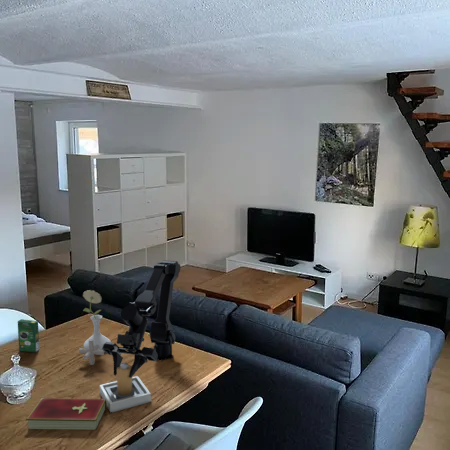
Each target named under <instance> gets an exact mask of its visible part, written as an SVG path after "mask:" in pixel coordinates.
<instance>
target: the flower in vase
mask: <svg viewBox="0 0 450 450" xmlns="http://www.w3.org/2000/svg"><path fill="white" fill-rule="evenodd" d="M82 297H83V298H84V299H85V301H86V302H89V308H87V307H85V308H84V309H83V310H82V312H87V313H92V316H90V317H89V318H90V320H91V321H92V324H93V333H92V335H91V336H90V337H89V338H87V339H86V340H85V341H84V342H83V347H82V348H84V349H89V339H93V342H94V346H95V345H97V344H98V345H99V346H100V347H99V349H98V350H103V349H102V347H103V345H104V343H106V342H111V343H112V341H111V339H109V338H108V337H106V336H105V335H103V334H102V333H101V331H100V324H101V320H102V318H103V315H100V314H99V313H100V312H101V311H102V309H98V310H96V311H95V312H93V311H92V308H91V307H92V304H99V303H102V300H103V298H102V296H101V294H100V293H98V292H96V291H95V290H92V289H89V290H88V289H87V290H85V291H84V292H83V293H82Z"/></svg>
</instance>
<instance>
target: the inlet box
mask: <svg viewBox="0 0 450 450" xmlns="http://www.w3.org/2000/svg"><path fill="white" fill-rule="evenodd" d="M132 388H133V389H134V390H135V395H133V396H129V397H125V398H121V399H116V397H115V392H116V390H117V380H114V381H111V382H107V383H103V384H99V394H100V396H101V399H106V404H107V409H108V410H109V412H110V413H111V412H112V413H115V412H119V411H122V410H127V409H130V408H134V407H137V406H140V405H141V406H142V405H144V404H149V403H151V402H152V396H151V395H152V393H151V392H150V391H149V389H148V388H147V386H146V385H145V384H144V382H143V381H142V380H141V378H140V377H139V376H138V375H135V376H132Z"/></svg>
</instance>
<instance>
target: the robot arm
mask: <svg viewBox="0 0 450 450" xmlns="http://www.w3.org/2000/svg"><path fill="white" fill-rule="evenodd" d="M180 272H181V264H179V261H176V260H168V259H167V260H164V259H163V260H161V261H160V262H157V263H155V264H154V266H153V271H152V273H151V276H150V277H149V279H148V281H147V285H146V287H145V289H144V291H143V292H141V293H140V294H138V296H137V298H136V299H135V301H134V302H129V303H128V304H127V305H125V307H123V308H122V309H121V311H120V318H121V319H122V320H123V321H124V322H125V323H126V325H128V326H129V328H128V330H126V331H125V334H123V333H122V334H120V333H118V334H117V338H116V342H112V341H111V342H106V343H104V345H103V347H102V349H103V350H104V353H106V354H107V355H110V356H112V359H113V360H112V361H113V375H114V376H117V367H119V366H120V364H121V363H123V359H124V357H123V356H122V354H127V355H132V356H133V355H134V359H133V363H132V365H131V367H132V368H131V371H130V374H129V377H130V378H131V377H134V375H135V374H136V373H137V372H138V370H139V369H140V368H141V367H142V366H143V365H144V364H146V363H148V362H149V361H150V362H157V360H158V361H165V360H168V359H173V358H174V357H175V356H174V355H173V345H174V344H175V343H176V334H175V333H174V332H173V331H172V330H173V326H172V325H173V324H172V323H171V320H170V314H171V313H170V312H171V305H172V299H173V298H172V297H173V290H174V289H173V288H174V283H175V282H176V281H177V279H178V278H179V275H180ZM159 291H160V292H159ZM158 293H159V299H158V300H159V301H158V307H157V300H156V299H157V296H158ZM156 310H157V316H156V318H155V320H154V321H152V322H151V324H150V321H149V319H148V317H151V316H153V315H154V313H156ZM147 326H150V330H149V338H150V343H151V344H153V343H154V346H153V347H147V346H143V347H142V348H141V346H142V343H143V342H145V338H144V336H145V333H146V330H147ZM119 345H120V346H119Z"/></svg>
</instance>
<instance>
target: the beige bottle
mask: <svg viewBox="0 0 450 450" xmlns="http://www.w3.org/2000/svg"><path fill="white" fill-rule="evenodd" d="M131 368H132V365H129V363H127V362H121V364H120V366H119V367H117V374H116V381H117V390H116V392H115V397H116V399H121V398H125V397H129V396H133V395H135V390H134V389H133V388H132V377H133V376H132V377H131V378H130V377H129V374H130V371H131Z"/></svg>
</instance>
